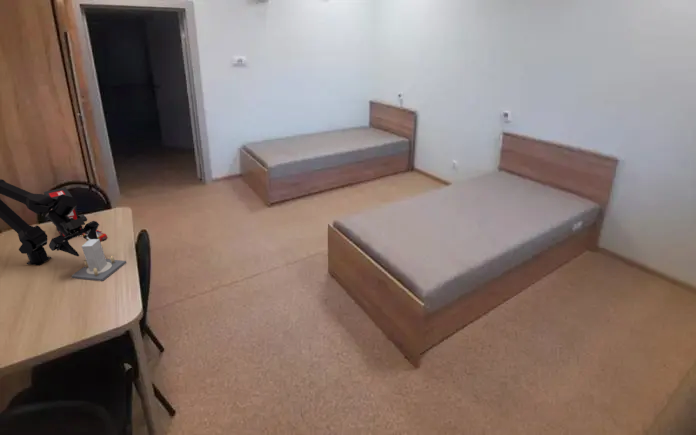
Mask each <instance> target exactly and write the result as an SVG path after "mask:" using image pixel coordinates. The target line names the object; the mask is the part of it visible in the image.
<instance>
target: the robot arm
mask: <svg viewBox="0 0 696 435" xmlns="http://www.w3.org/2000/svg"><path fill="white" fill-rule="evenodd" d="M0 194H1V195H2V196H5V197H7V198H9V199H12V200H15V201H16V202H19V203H21V204H24V205H25V207H26V208H27V209H28V210H29V211H31V212H33V213H34V214H36V215H42V214H44V213H45V214H44V221H45V222H46V221H51V222H52V223H51V224H53V225H54V226H55V228H56V227H57V228H56V231H57V232H58V233H59V231H61V232H62V233H63V234H64V237H63V236H62V235H60V234H59V235H58V236H56V237H53V238H51V240H50V241H49V244H48V240H49V239H48V234H47V233H46V231H45V230H43V229H42V228H41V226H39V225H35V226H33V225H30V224H28V222H26V221H25V220H24V219H23V218H22V217H21V216H20V215H18V213H16V212H15V211H14V210H13V209H12V208H11V207H10V206H9V205H8V204H7V203H5V201H3V200H2V199H1V198H0V219H1V220H2V221H3V222H4V223H6V225H8V226H9V227H10V228H11V229H12V230H13V231H15V232H16V233H17V236H18V239H19V242H20V243H21V245H20V246H19V247H18V251H19V253H21V254H26V256H27V259H28V261H27V262H26V265H30V266H31V265H32V266H41V265H43V264H44V263H46V262H47V261H49V260H51V259H52V256H48V253H47V251H46V250H45V246H46V245H48V248H49V249H50V250H51V251H58V252H59V251H61V252H65V253H67V254H70V255H73V256H75V257H80V254H79V252H78V251H77V250H76V249H75V248H74V247H73V246H72V245H71V244H70V242H69V241H70V240H72V239H74V238H77V236H78V237H80V236H79V235H81V234H83V233H85V234H88V235H87V237H88V238H90V239H98V238H97V234H96V230H98V228H99V226H100V223H99V222H97V221H96V220H92V221H90V222H88V223H86V222H87V221H88V218H87V216H85V214H82V213H81V214H78V215H79V216H77V218H78V219H76V220H74V219H73V218H69V216H68V215H69V214H70V213H71V212H72V211H73V210H74V208H75V207H76V208H77V206H78V203H79V202H78V200H77V199H76V198H75V197H73V196H72V197H73V198H72V197H70V196H65V195H63V194H62V195H60V196H59V197H58V198H57V199H55V198H51V197H50V196H47V195H45V194H42V193H33V192H30V191H27V190H25V189H23V188H20V187H18V186H16V185H13V184H12V183H9V182H6V181H5V180H4V179H1V178H0ZM52 208H53V210H51V209H52ZM50 210H51V211H50ZM48 211H49V212H48ZM47 212H48V213H47ZM81 225H82V226H81ZM84 225H85V226H84ZM83 226H84V227H83ZM81 227H82V228H83V229H80V228H81ZM77 233H78V234H77ZM81 236H82V235H81Z"/></svg>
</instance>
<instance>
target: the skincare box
mask: <svg viewBox="0 0 696 435" xmlns="http://www.w3.org/2000/svg"><path fill="white" fill-rule="evenodd" d="M100 242H101V241H100V240H99V239H89V240H88V241H87V240H86V241H85V243H84V244H82V245H81V249H82V252H83V255H84V258H85V260H86V261H87V264H88V267H89V270H90V271H91V272H92V271H93V269H94V268H97V271H101V270H102V268H103V267H104V266H105V265H106V264H107V262H106V259H107V258H106V256H105V253H104V250H103V247H102V243H100Z"/></svg>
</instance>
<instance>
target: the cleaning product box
mask: <svg viewBox="0 0 696 435" xmlns="http://www.w3.org/2000/svg"><path fill="white" fill-rule="evenodd" d="M43 193H44V194H43V195H47V196H50V197H51V198H55V199H57V198H58V197H59V196H60V195H62V194H63V195H65V196H70V197H72V198H74V196H72V194H71V193H70V191H69V190H68V189H67V187H62V188H56V189H52V190H48V191H43ZM51 210H53V208H52V209H51ZM51 210H49V212H50V211H51ZM79 215H80V214H79V213H78V210H77V206H76V207H75V208H74V210H73V211H72V212H71V213H70V214H69V215H68V216H69V218H73V219H74V220H76V219H78V218H77V216H79ZM81 226H82V227H81V228H80V229H83V228H84V227H83V225H81ZM55 229H57V227H56V226H55ZM58 234H59V236H60V235H62V236H63V237H64V234H63V233H62V232H61V231H59V232H58ZM77 234H78V233H77ZM81 236H83V235H82V234H81ZM81 236H80V235H79V236H78V237H81Z"/></svg>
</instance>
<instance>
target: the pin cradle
mask: <svg viewBox="0 0 696 435" xmlns="http://www.w3.org/2000/svg"><path fill="white" fill-rule="evenodd" d="M105 259H106V262H107V264H106V265H105V266H104V267H103V268H102V270H101V271H97V268H94V269H93V271H92V272H91V271H90V270H89V267H88V264H87V261H86V259H85V260H83V263H84V266H83V267H82V268H80V269H79V270H77V271H76V272H74V273H73V274H72V275H70V276H71V278H72V279H78V280H86V281H87V280H89V281H95V282H96V281H98V282H104V281H105V280H107V278H109V277H110V276H112V274H114V273H116V272H117V271H118V270H119V269H120V268H122V267H123V266H124V265H126V264H127V260H120V259H119V260H118V259H115V258H114V255H111V256H110V258H105Z"/></svg>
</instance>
